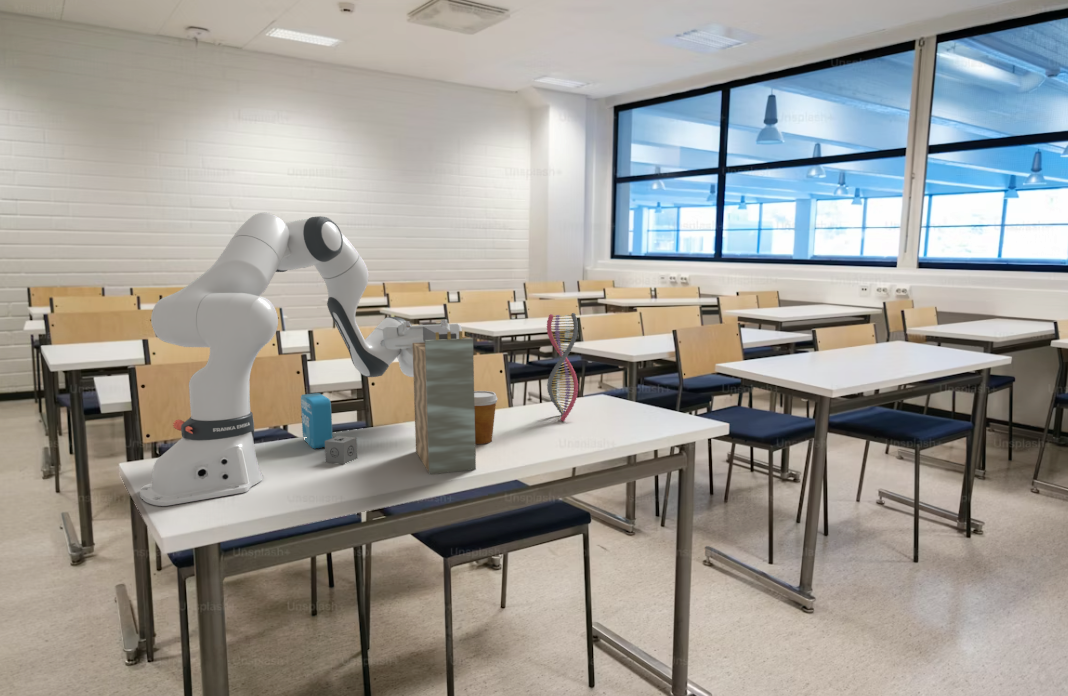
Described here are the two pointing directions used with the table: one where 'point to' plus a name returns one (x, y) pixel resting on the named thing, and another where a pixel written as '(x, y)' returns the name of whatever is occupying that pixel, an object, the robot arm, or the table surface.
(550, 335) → the dna model
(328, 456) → the dice cube
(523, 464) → the table surface
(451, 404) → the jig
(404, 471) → the table surface
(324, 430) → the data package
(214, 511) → the table surface
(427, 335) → the grey rectangular bar
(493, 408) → the disposable coffee cup
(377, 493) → the table surface
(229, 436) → the robot arm
